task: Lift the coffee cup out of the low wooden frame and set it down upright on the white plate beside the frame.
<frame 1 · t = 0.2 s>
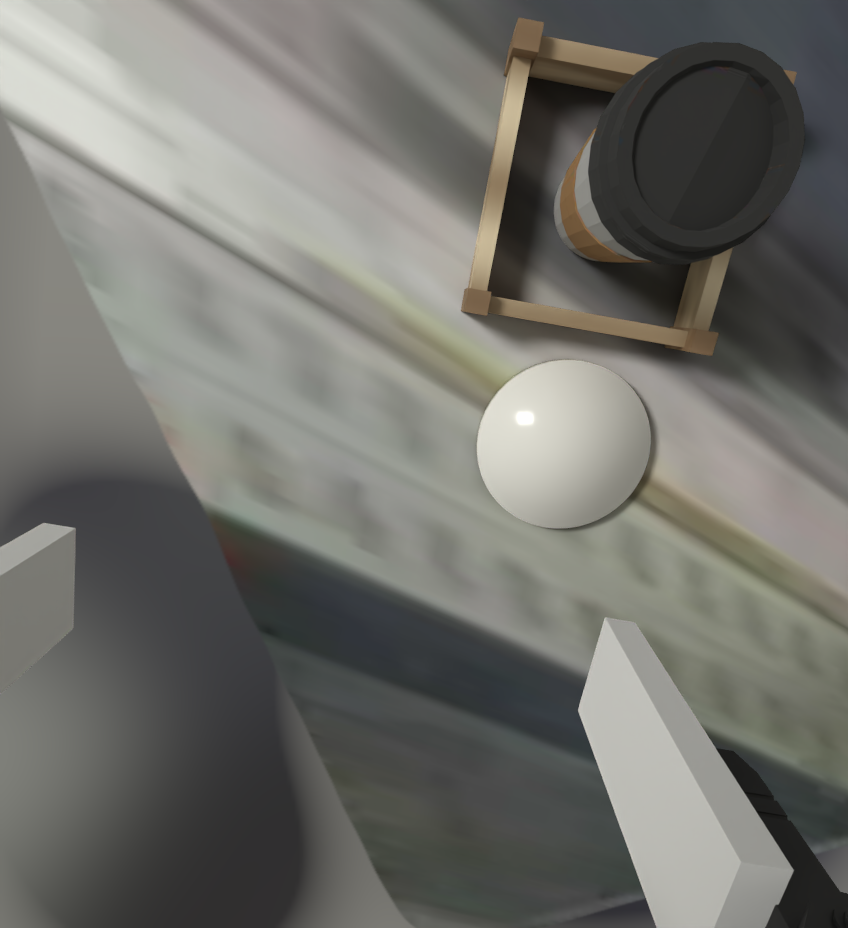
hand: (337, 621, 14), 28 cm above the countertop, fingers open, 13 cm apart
wooden frame: (602, 209, 37), on the countertop
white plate: (561, 444, 41), on the countertop
coffee cup: (601, 209, 38), resting in wooden frame
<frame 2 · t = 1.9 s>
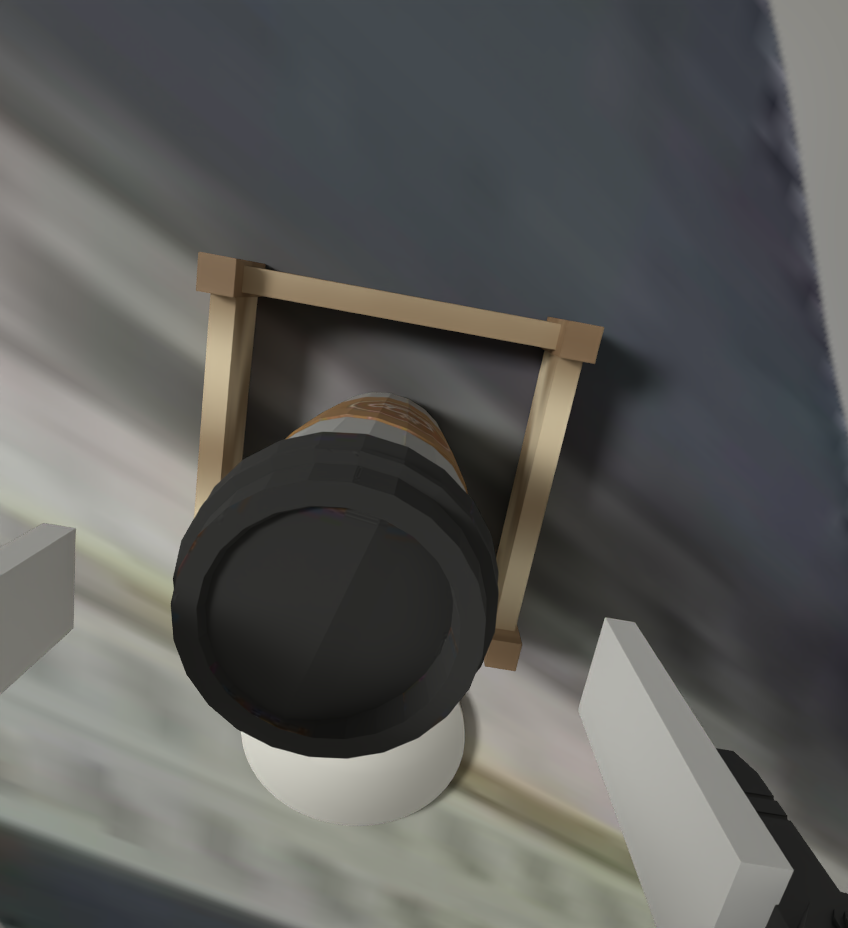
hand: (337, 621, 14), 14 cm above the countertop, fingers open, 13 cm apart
wooden frame: (380, 456, 28), on the countertop
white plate: (354, 727, 32), on the countertop
coffee cup: (381, 455, 28), resting in wooden frame
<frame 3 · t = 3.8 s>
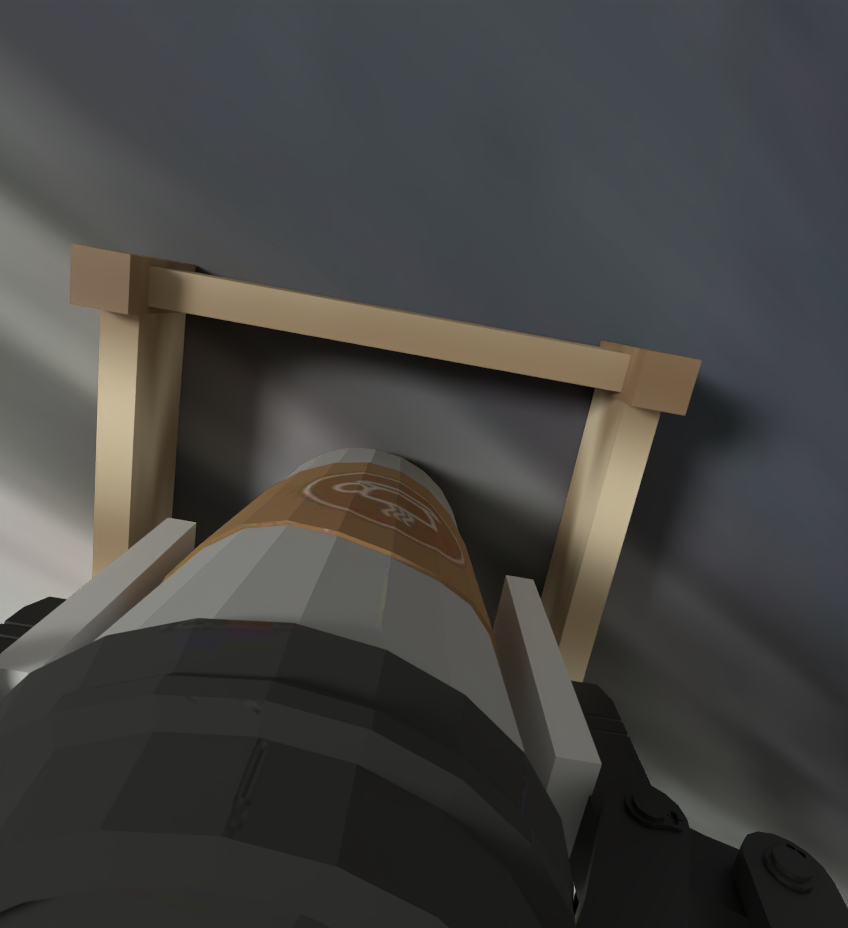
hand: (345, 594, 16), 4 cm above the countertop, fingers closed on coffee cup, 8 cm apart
wooden frame: (363, 533, 20), on the countertop
coffee cup: (363, 531, 20), resting in wooden frame, touching gripper
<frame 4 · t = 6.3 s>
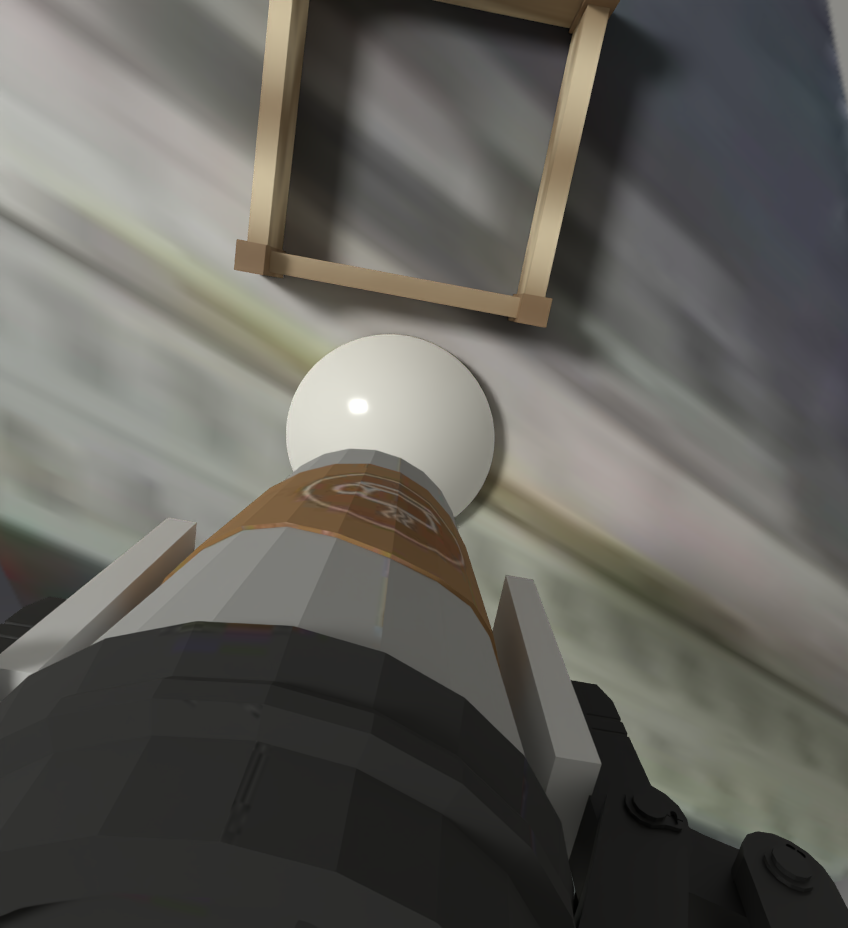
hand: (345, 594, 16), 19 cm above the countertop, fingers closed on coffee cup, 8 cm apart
wooden frame: (420, 147, 30), on the countertop
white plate: (391, 438, 34), on the countertop
coffee cup: (363, 532, 20), point 15 cm above the countertop, touching gripper
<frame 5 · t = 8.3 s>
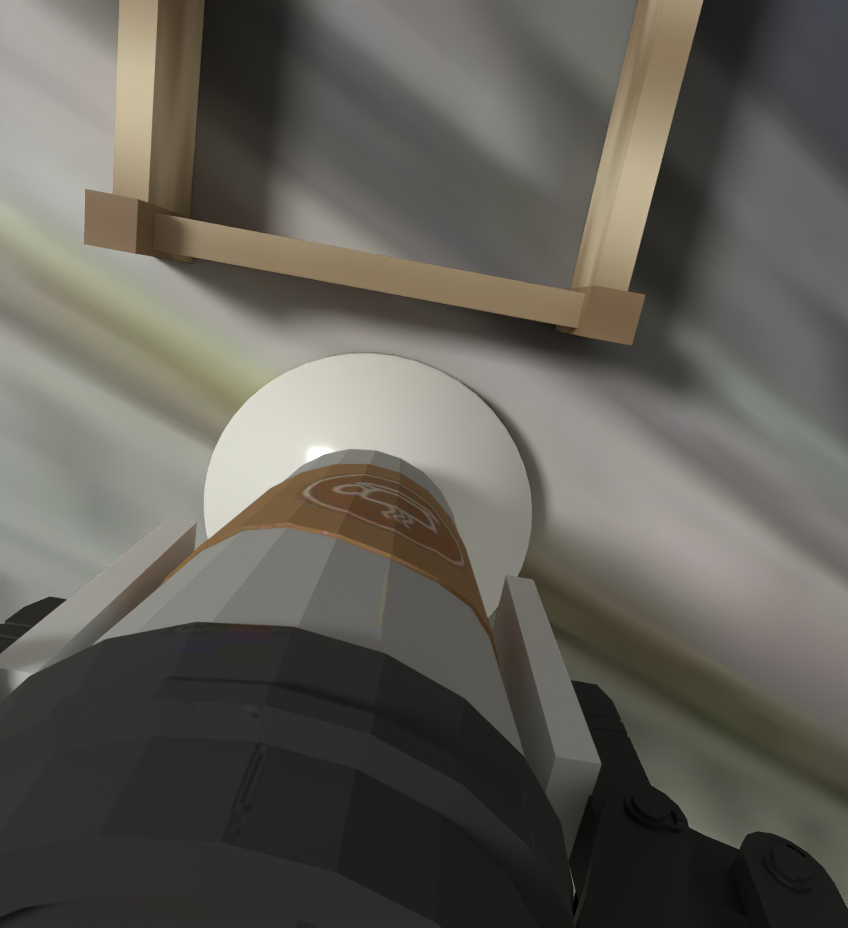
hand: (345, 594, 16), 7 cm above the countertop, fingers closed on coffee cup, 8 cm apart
wooden frame: (414, 42, 18), on the countertop
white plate: (369, 512, 22), on the countertop
coffee cup: (363, 532, 20), point 2 cm above the countertop, touching gripper
when the fingers open (7 cm above the countertop, at t = 9.0 s): coffee cup drops 1 cm, resting on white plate.
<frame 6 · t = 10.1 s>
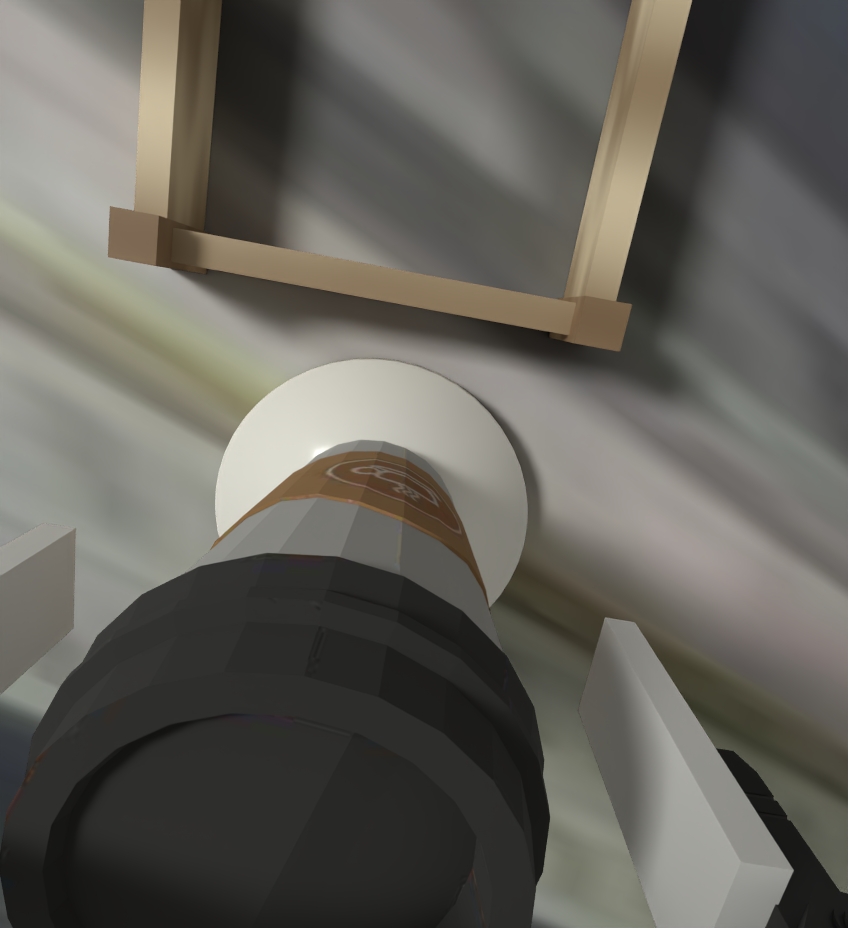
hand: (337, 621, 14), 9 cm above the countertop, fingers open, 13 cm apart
wooden frame: (415, 68, 19), on the countertop
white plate: (373, 510, 23), on the countertop
coffee cup: (371, 515, 23), point 1 cm above the countertop, touching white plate
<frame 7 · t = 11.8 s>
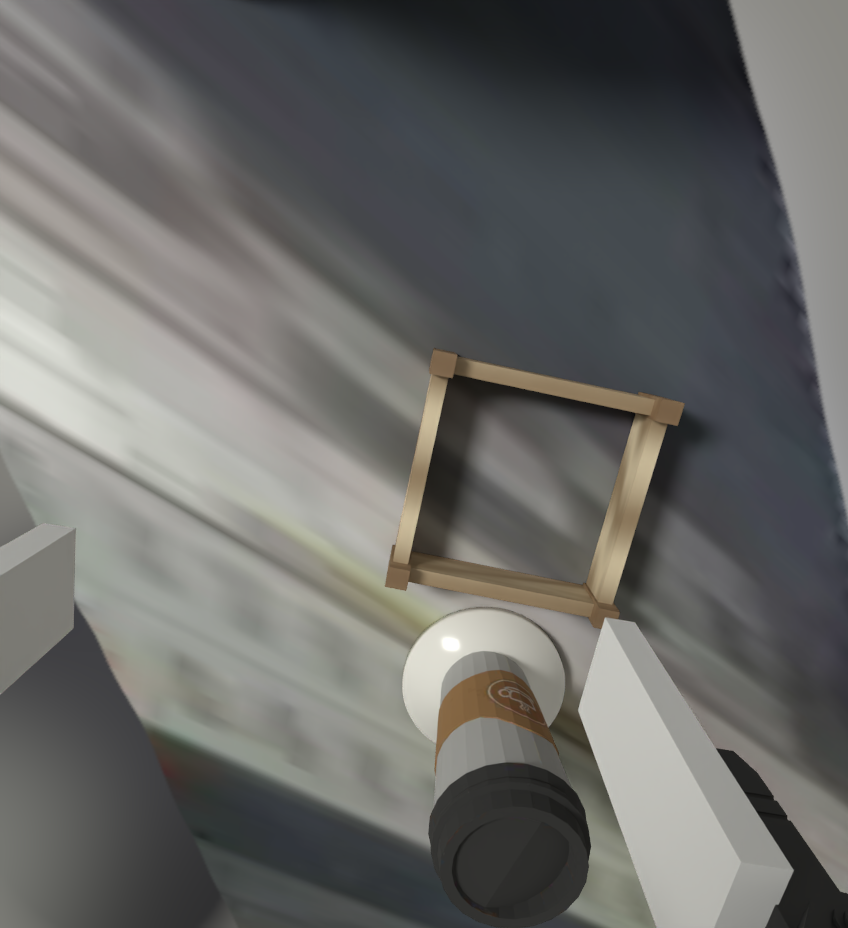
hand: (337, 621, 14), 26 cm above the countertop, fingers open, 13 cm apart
wooden frame: (519, 482, 41), on the countertop
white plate: (482, 680, 44), on the countertop
coffee cup: (483, 684, 43), point 1 cm above the countertop, touching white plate
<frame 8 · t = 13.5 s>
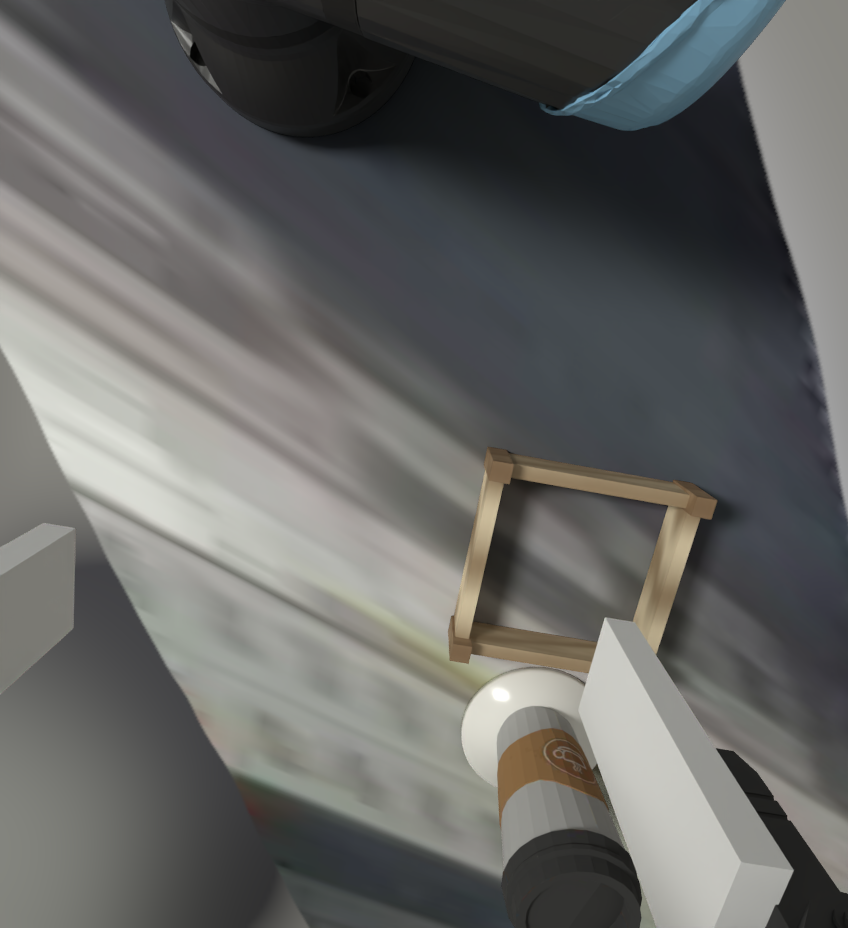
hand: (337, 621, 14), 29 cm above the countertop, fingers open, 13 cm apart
wooden frame: (565, 559, 45), on the countertop
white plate: (532, 729, 49), on the countertop
coffee cup: (534, 734, 49), point 1 cm above the countertop, touching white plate
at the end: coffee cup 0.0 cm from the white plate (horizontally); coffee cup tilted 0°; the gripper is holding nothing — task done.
